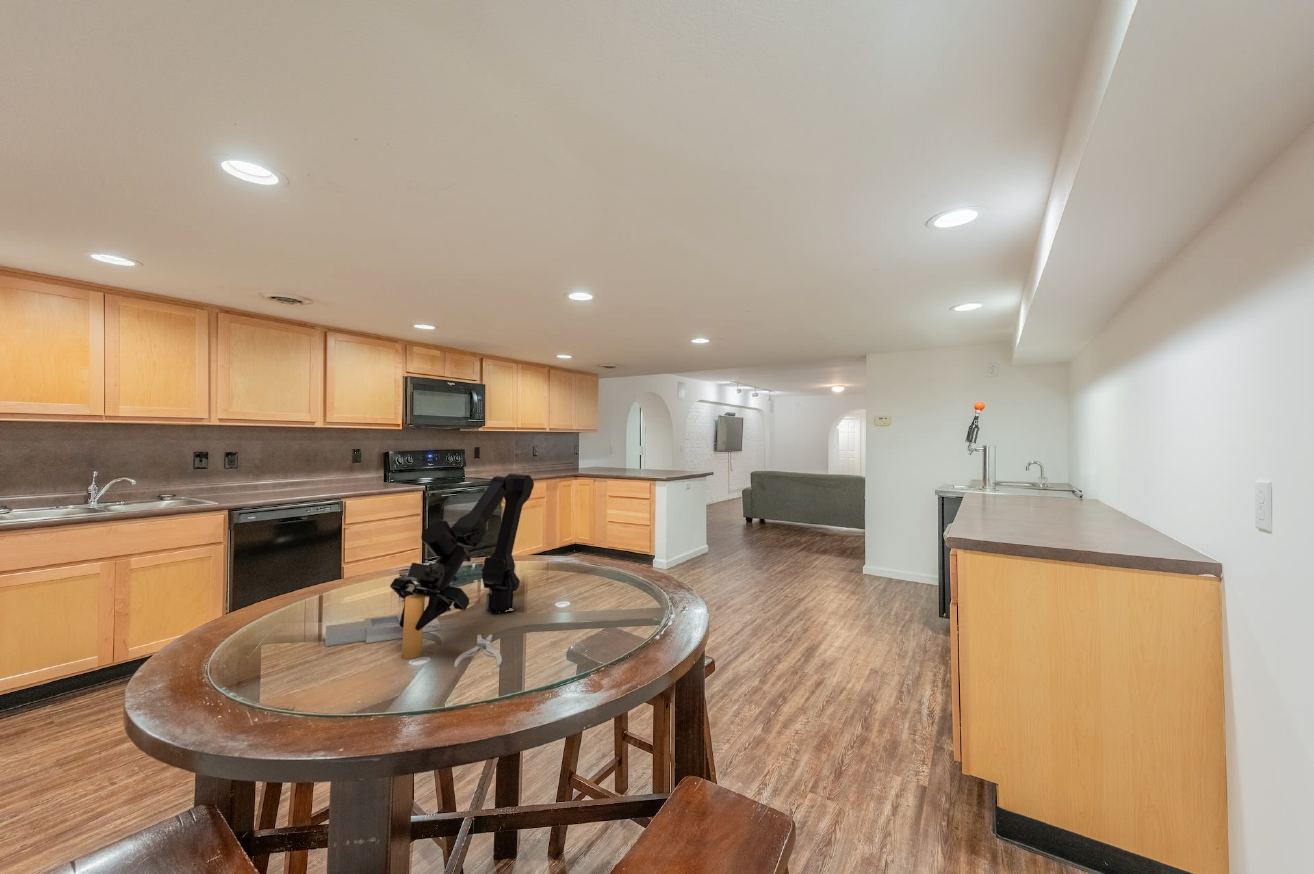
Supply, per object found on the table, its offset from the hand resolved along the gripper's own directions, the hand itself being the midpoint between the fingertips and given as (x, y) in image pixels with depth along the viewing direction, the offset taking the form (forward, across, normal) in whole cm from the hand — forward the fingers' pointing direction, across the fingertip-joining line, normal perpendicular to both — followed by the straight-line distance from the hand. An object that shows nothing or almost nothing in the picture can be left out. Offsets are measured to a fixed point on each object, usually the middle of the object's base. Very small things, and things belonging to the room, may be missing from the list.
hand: (408, 627), depth 114 cm
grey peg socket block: (-1, -14, +10) cm, 17 cm away
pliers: (-2, +13, +12) cm, 17 cm away
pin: (+4, 0, +6) cm, 7 cm away
